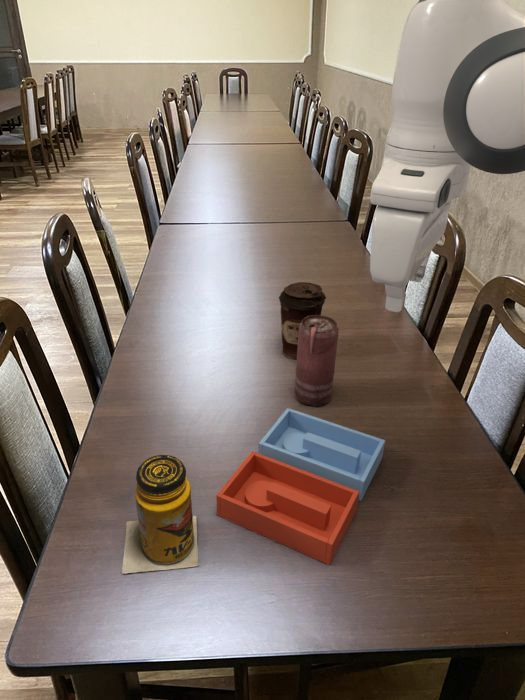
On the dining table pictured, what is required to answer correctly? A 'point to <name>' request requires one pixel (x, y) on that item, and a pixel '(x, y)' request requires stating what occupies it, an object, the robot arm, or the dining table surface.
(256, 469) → the red bin
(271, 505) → the red spoon
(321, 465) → the blue bin
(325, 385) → the can
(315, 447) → the blue spoon
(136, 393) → the dining table surface
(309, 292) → the coffee cup
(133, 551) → the condiment
